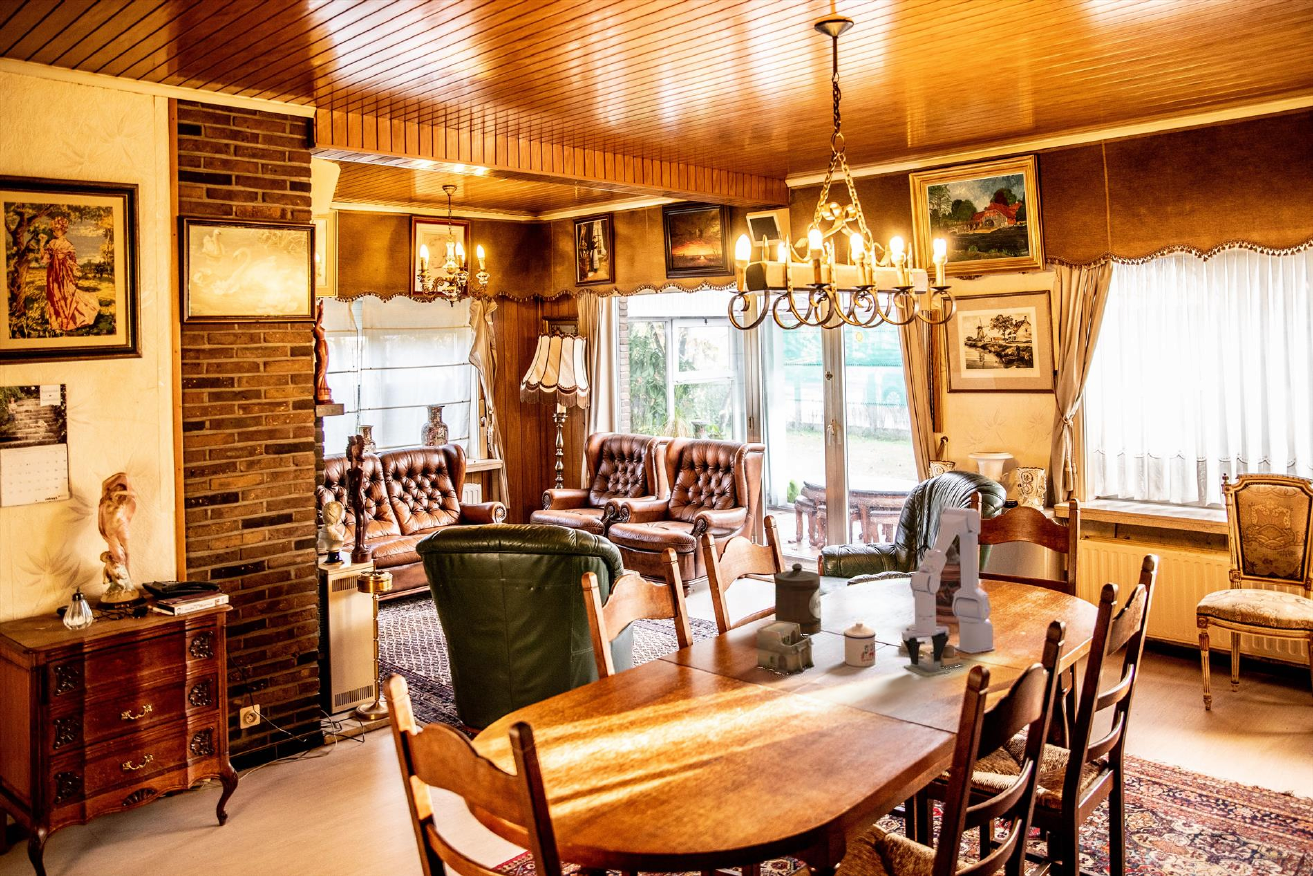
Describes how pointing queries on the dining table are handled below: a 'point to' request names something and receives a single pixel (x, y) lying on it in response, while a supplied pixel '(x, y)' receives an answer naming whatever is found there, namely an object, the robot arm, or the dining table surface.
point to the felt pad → (924, 671)
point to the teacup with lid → (859, 646)
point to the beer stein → (948, 587)
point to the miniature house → (783, 648)
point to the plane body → (927, 650)
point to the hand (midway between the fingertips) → (926, 662)
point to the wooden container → (798, 599)
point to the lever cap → (927, 664)
